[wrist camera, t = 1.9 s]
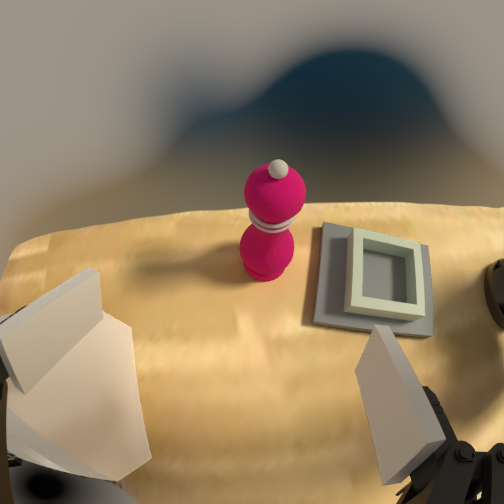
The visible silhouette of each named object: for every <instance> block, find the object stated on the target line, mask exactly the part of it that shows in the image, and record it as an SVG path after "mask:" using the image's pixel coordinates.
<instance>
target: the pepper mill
mask: <svg viewBox="0 0 504 504" xmlns="http://www.w3.org/2000/svg"><path fill="white" fill-rule="evenodd" d="M244 196H245V201H246V204H247V206H248V208H249V217H250V220H251V222H252V224H251V225H250V226H249V227H248V228H247V229H246V230H245V232H244V234H243V235H242V238H241V241H240V255H241V257H242V260H243V262H244V267H245V269H246V271H247V273H248V274H249V275H250V276H251V277H253V278H254V279H257V280H260V281H271V280H274V279H276V278H278V277H279V276H280V275H281V274H282V273H283V272H284V270H285V268H286V267H287V266H288V264H289V263H290V261H291V260H292V257H293V253H294V241H293V237H292V235H291V233H290V231H289V229H288V228H289V227H290V226H291V225H292V224H293V222H294V219H295V215H296V214H297V213H298V212H299V211H300V210H301V208H302V206H303V204H304V201H305V196H306V189H305V185H304V182H303V180H302V178H301V177H300V175H299V174H298V173H297V172H296V171H295V170H293V169H292V168H290V167H288V166H287V164H286V163H285V162H284V161H282V160H274V161H272V162H271V163H270V164H266V165H263V166H261V167H259V168H257V169H256V170H254V171H253V172H252V173H251V174H250V176H249V177H248V179H247V182H246V184H245V189H244Z"/></svg>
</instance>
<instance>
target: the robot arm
mask: <svg viewBox="0 0 504 504" xmlns="http://www.w3.org/2000/svg"><path fill="white" fill-rule="evenodd" d="M485 294H486V299H487V303H488V306H489V309H490V311H491V314H492V316H493V318H494V319H495V321H496V322H497V323H498V324H499V325H500V326H501V327H502V328H504V258H502V259H499V260H497V261H495V262H494V263H493V264H491V265H490V266H489V267H488V269H487V271H486V275H485ZM103 319H104V317H103V309H102V301H101V290H100V278H99V271H97V270H93V269H90V268H87V269H85V270H83V271H82V272H80V273H78V274H77V275H75V276H73V277H72V278H70V279H68V280H67V281H65V282H63V283H62V284H60V285H59V286H57V287H55V288H54V289H52V290H51V291H49V292H48V293H46V294H44V295H43V296H41V297H40V298H38V299H37V300H35V301H34V302H32V303H31V304H29V305H27V306H24V307H22V308H21V309H19V310H18V311H16V312H15V314H14V313H13V314H12V315H10V316H9V318H6V319H5V320H3V321H2V322H0V504H14V500H13V494H12V489H11V482H10V476H9V467H8V456H7V437H6V413H7V394H8V383H7V381H6V379H7V378H8V377H10V379H11V381H12V383H13V385H14V387H15V388H16V389H18V390H19V391H20V392H22V393H23V394H24V395H27V394H28V393H29V392H30V390H31V389H32V388H33V387H34V386H35V385H36V384H37V383H38V382H39V381H40V380H41V379H42V378H43V377H44V376H45V375H46V374H47V373H48V372H49V371H50V370H51V369H52V368H53V367H54V366H55V365H56V364H57V363H58V362H59V361H60V360H61V359H62V358H63V357H64V356H65V355H66V354H67V353H68V352H69V351H70V350H71V349H72V348H73V347H74V346H75V345H76V344H77V343H78V342H79V341H80V340H81V339H82V338H83V337H84V336H85V335H87V334H88V333H89V332H90V331H91V330H92V329H93V328H94V327H95V326H96V325H97V324H98V323H99V322H100V321H101V320H103ZM355 373H356V377H357V380H358V384H359V387H360V391H361V395H362V398H363V402H364V406H365V410H366V414H367V418H368V422H369V426H370V430H371V434H372V438H373V443H374V447H375V452H376V456H377V461H378V466H379V471H380V476H381V481H382V486H383V485H390V484H396V483H401V482H402V481H403V480H404V479H405V478H407V477H408V476H409V475H410V477H411V482H410V483H409V484H407V485H406V486H405V487H404V488H402V489H401V490H400V491H399V492H398V493H397V494H396V495H397V496H398V495H400V494H401V493H402V492H403V493H402V495H401V497H400V498H399V500H398V502H397V503H396V504H504V443H497V444H496V445H494V446H493V447H492V448H491V449H490V450H489V451H488V452H475V449H474V448H473V447H472V445H470V444H469V443H467V442H465V441H458V440H457V438H456V436H455V434H454V431H453V429H452V427H451V425H450V423H449V421H448V419H447V417H446V415H445V413H444V411H443V409H442V407H441V406H440V403H439V401H438V399H437V397H436V395H435V394H434V393H433V392H432V391H431V390H430V389H429V388H428V387H427V386H421V384H420V382H419V380H418V378H417V376H416V374H415V372H414V370H413V368H412V366H411V365H410V363H409V361H408V359H407V357H406V355H405V354H404V352H403V350H402V348H401V346H400V344H399V343H398V341H397V339H396V337H395V336H394V334H393V332H392V330H391V329H390V327H389V326H384V325H374V327H373V330H372V332H371V335H370V337H369V340H368V342H367V344H366V347H365V349H364V351H363V354H362V356H361V358H360V360H359V362H358V365H357V367H356V369H355ZM481 491H482V494H481V498H480V499H479V500H477V494H479V493H480V492H481Z"/></svg>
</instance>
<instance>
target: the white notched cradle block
mask: <svg viewBox="0 0 504 504" xmlns="http://www.w3.org/2000/svg"><path fill="white" fill-rule="evenodd" d="M12 314H13V313H11V314H5V315H3V316H1V317H0V322H2V321H3V320H5V319H6V318H9V316H10V315H12ZM14 314H15V313H14ZM103 317H104V319H103V320H101V321H100V322H99V323H98V324H97V325H96V326H95V327H94V328H93V329H92V330H91V331H90V332H89V333H88V334H87V335H85V336H84V337H83V338H82V339H81V340H80V341H79V342H78V343H77V344H76V345H75V346H74V347H73V348H72V349H71V350H70V351H69V352H68V353H67V354H66V355H65V356H64V357H63V358H62V359H61V360H60V361H59V362H58V363H57V364H56V365H55V366H54V367H53V368H52V369H51V370H50V371H49V372H48V373H47V374H46V375H45V376H44V377H43V378H42V379H41V380H40V381H39V382H38V383H37V384H36V385H35V386H34V387H33V388H32V389H31V390H30V392H29V393H28V394H27V395H24V394H23V393H22V392H20V391H19V390H18V389H16V388H15V387H14V385H13V383H12V381H11V379H10V377H8V378H7V379H6V381H7V383H8V394H7V413H6V437H7V450H8V451H9V452H11V453H12V454H14V455H15V456H17V457H18V458H21V459H24V460H26V461H29V462H32V463H35V464H38V465H42V466H45V467H48V468H52V469H56V470H59V471H63V472H67V473H72V474H76V475H81V476H86V477H91V478H97V479H104V480H111V481H119V480H120V479H122V478H124V477H125V476H127V475H128V474H130V473H131V472H133V471H134V470H136V469H137V468H139V467H140V466H142V465H143V464H144V463H146V462H147V461H149V460H150V459H152V456H151V452H150V448H149V443H148V439H147V434H146V430H145V425H144V420H143V415H142V409H141V403H140V397H139V391H138V384H137V377H136V369H135V361H134V351H133V341H132V328H131V327H129V326H127V325H126V324H124V323H122V322H121V321H119V320H117V319H116V318H114V317H112V316H111V315H109V314H107V313H106V312H104V311H103Z"/></svg>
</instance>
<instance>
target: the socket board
mask: <svg viewBox="0 0 504 504" xmlns="http://www.w3.org/2000/svg"><path fill="white" fill-rule="evenodd" d="M312 324H316V325H322V326H329V327H336V328H343V329H350V330H358V331H366V332H372V330H373V327H374V325H384V326H389V327H390V329H391V330H392V332H393V334H394V335H403V336H414V337H426V338H429V337H431V336H433V293H432V278H431V267H430V258H429V250H428V246H427V245H423V244H420V243H419V242H415V241H411V240H407V239H403V238H398V237H394V236H390V235H386V234H382V233H377V232H373V231H369V230H364V229H360V228H355V227H353V228H351V227H346V226H341V225H337V224H332V223H327V222H324V223H323V225H322V229H321V242H320V253H319V264H318V274H317V284H316V293H315V301H314V309H313V317H312Z"/></svg>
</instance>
